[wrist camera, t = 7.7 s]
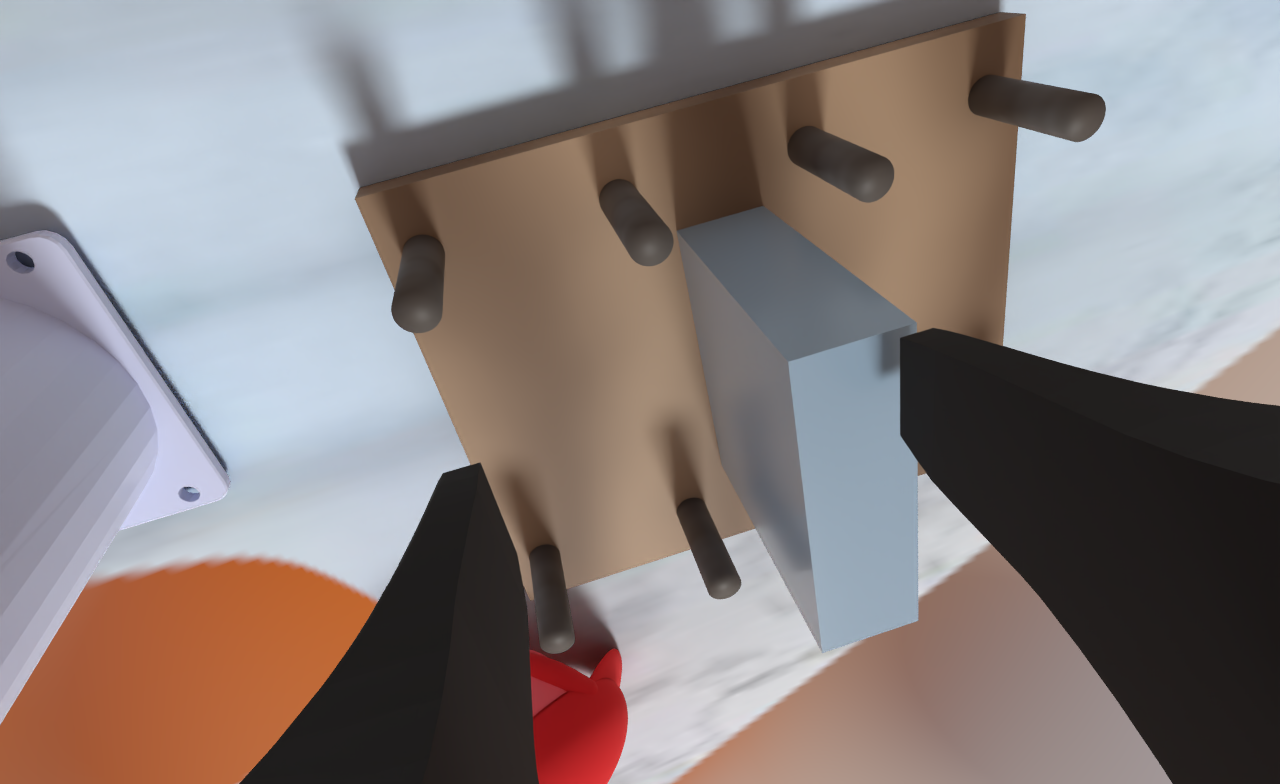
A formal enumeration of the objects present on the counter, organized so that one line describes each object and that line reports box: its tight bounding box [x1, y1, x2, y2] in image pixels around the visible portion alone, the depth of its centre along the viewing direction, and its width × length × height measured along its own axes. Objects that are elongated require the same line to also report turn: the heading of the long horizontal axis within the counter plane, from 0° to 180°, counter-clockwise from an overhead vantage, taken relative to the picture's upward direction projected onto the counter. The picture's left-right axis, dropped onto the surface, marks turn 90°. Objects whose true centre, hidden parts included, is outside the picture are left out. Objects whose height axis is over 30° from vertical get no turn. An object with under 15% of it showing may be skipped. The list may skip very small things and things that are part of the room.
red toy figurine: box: [529, 649, 628, 784], centre depth 25 cm, size 8×6×6 cm
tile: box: [677, 206, 918, 653], centre depth 18 cm, size 2×8×8 cm, turn 12°
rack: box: [355, 12, 1106, 654], centre depth 20 cm, size 17×14×4 cm
